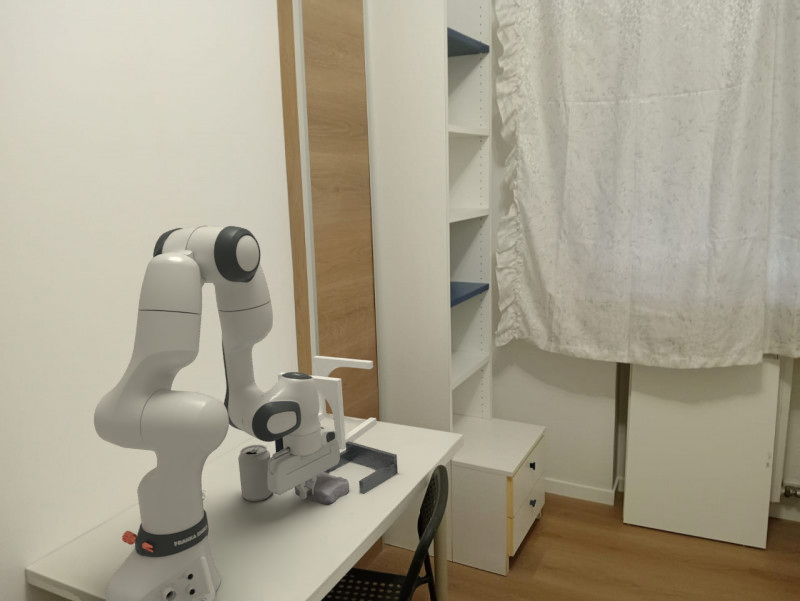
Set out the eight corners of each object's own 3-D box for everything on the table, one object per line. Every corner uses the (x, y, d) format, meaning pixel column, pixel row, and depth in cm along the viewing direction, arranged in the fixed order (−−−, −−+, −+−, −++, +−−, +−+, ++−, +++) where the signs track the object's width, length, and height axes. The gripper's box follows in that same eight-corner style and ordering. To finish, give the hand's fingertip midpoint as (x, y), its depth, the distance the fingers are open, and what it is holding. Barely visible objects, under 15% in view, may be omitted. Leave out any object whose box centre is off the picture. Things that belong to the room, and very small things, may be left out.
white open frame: (321, 416, 216) (316, 355, 212) (376, 424, 207) (372, 360, 203) (283, 440, 198) (277, 374, 194) (342, 449, 189) (337, 380, 185)
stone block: (319, 486, 172) (290, 494, 164) (321, 467, 172) (292, 474, 164) (354, 499, 165) (326, 509, 157) (356, 480, 165) (328, 488, 157)
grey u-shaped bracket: (363, 493, 163) (362, 474, 162) (314, 477, 173) (313, 458, 172) (397, 473, 173) (396, 454, 172) (349, 458, 183) (348, 441, 182)
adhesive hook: (193, 501, 164) (191, 489, 163) (200, 496, 166) (199, 485, 166) (203, 503, 163) (201, 491, 162) (210, 498, 165) (209, 486, 164)
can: (235, 500, 163) (230, 452, 160) (255, 486, 169) (250, 441, 167) (261, 505, 160) (256, 457, 157) (279, 491, 166) (275, 444, 164)
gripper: (277, 459, 147) (282, 518, 149) (342, 428, 162) (346, 482, 165) (258, 453, 150) (263, 511, 153) (323, 423, 166) (327, 476, 169)
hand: (307, 496), depth 159 cm, fingers closed
